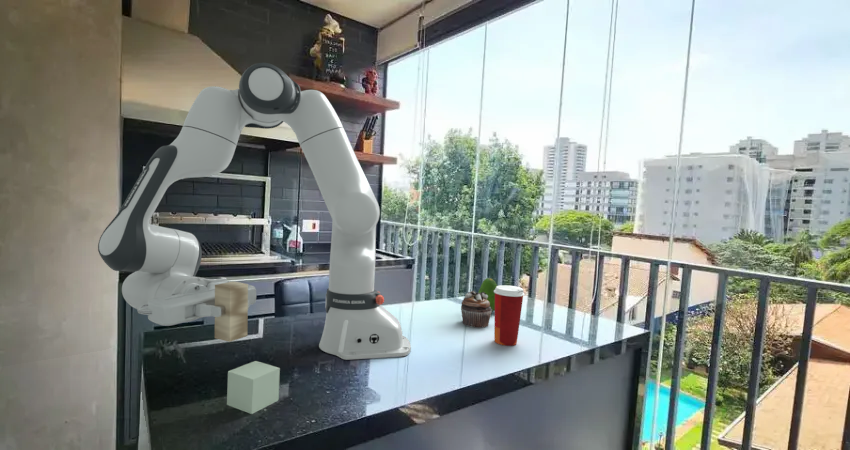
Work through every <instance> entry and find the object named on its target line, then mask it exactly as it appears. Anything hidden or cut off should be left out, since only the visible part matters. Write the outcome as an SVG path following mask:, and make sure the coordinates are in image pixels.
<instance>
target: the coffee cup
mask: <svg viewBox="0 0 850 450" xmlns="http://www.w3.org/2000/svg"><path fill="white" fill-rule="evenodd" d="M494 293H495V310H494V325H493V326H494V329H493V331H494V336H493V338H494V343H495V344H498V345H500V346H507V347H513V346H516V345H517V342H518V338H519V331H520V329H519V328H520V323H521V322H520V321H521V316H522V315H521V314H522V307H523V300H524V296H525V293H524V289H523V288H522V287H520V286H515V285H500V284H499V285H497V286H496V288H495V290H494Z"/></svg>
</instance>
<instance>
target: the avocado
mask: <svg viewBox="0 0 850 450" xmlns="http://www.w3.org/2000/svg"><path fill="white" fill-rule="evenodd" d="M496 286H498V284H497V282H496V281H495V280H494V279H493V278H491V277H487V278H485V279H484V280H483V281H482V282H481V285H480V287H479V289H478V292H477V293H481V292H485V293H486V295H488V298H487V300H488V301H489V302H490V305H489V306H490V307H491V309H492V312H495V293H494V290H495V288H496Z"/></svg>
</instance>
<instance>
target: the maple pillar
mask: <svg viewBox="0 0 850 450" xmlns="http://www.w3.org/2000/svg"><path fill="white" fill-rule="evenodd" d="M239 282H240V281H235V282H228V283H222V284H217V285H215V306H216V305H222V306H225V308H226V310H225V312H226V314H225V315H224V316H220V317H214V339H215V340H221V341H224V342H227V343H228V342H229V343H230V342H234V341H237V340H239V339H243V338H245V337H248V326H249V325H248V316H249V315H248V312H249V311H248V310H249V309H248V285H249V284H248V283H243V282H240V283H239Z"/></svg>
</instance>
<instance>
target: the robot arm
mask: <svg viewBox="0 0 850 450" xmlns="http://www.w3.org/2000/svg"><path fill="white" fill-rule="evenodd" d="M283 123H285V124H287V125H288V126H289V127H290V128H291V130H292V131H293V133H294V134H295V135H296V139H297V141H298V144H299V146H300V149H301V150H302V152H303V155H304V157H305V159H306V161H307V163H308V167H309V168H310V170H311V173H312V174H313V177H314V180H315V182H316V185H317V186H318V189H319V192H320V193H321V196H322V198H323V201H324V204H325V206H326V208H327V211H328V213H329V215H330V217H331V220H332V221H331V222H332V224H331V225H332V226H331V237H330V238H331V239H330V241H331V242H330V252H329V253H330V254H329V273H328V275H329V276H328V288H326V289H327V290H326V293H325V308H324V309H325V313H326V314H325V322H324V327H323V331H322V335H321V338H320V341H319V344H318V348H319V349H320V350H321V351H323V352H325V353H326V354H330V355H334V356H337V357H338V358H341V359H342V360H345V361H346V360H347V361H348V360H363V359H365V360H366V359H379V358H381V359H382V358H396V357H399V358H400V357H405V356H408V355H409V354H410V352H411V348H412V347H411V342H410V340H409V339H408V338H407V337H406V336H405V335H403V331H402V325H401V322H400V321H399V319H398V318H397V317H396V316H395V315H393V314H392V313H391V312H390V311H389V310H387V309H386V308H385V307H383V306H382V305H383V304H384V303H385V297H384V296H383V295H382V293H381V292H380V290H379V291H378V290H376V289H375V279H376V278H375V277H376V275H375V274H376V273H375V272H376V258H377V257H376V255H377V254H376V252H377V251H376V249H377V248H376V247H377V246H376V245H377V244H376V238H377V224H378V222H379V220H380V214H381V211H380V210H381V209H380V206H379V202H378V200H377V198H376V196H375V194H374V191H373V189H372V188H371V185H370V182H369V181H368V179H367V177H366V175H365V172H364V171H363V168H362V167H361V164H360V162H359V159H358V157H357V155H356V153H355V151H354V148H353V147H352V143H351V141H350V139H349V137H348V135H347V133H346V130H345V129H344V126H343V124H342V122H341V119H340V118H339V116H338V114H337V112H336V110H335V108H334V106H333V105H332V103H331V102H330V101H329V99H328V98H327V96H326V95H325V94H324V93H323V92H321V91H320V90H317V89H305V90H301V87H300V85H299V84H298V83H297V82H296V81H294V80H293V79H292V78H291V77H289V76H288V75H287V73H285V72H284V71H283V70H282V69H281V68H280V67H278V66H276V65H274V64H271V63H268V62H259V63H254V64H252V65H251V66H249V67H247V68H246V69H245V70H244V72H243V73H242V74H241V77H240V79H239V83H238V88H237V89H228V88H225V87H221V86H207V87H204V88H203V89H202V90H200V92H199V94H197V96H196V97H195V99H194V101H193V103H192V104H191V107H190V108H189V111H188V112H187V114H186V117H185V119H184V122H183V125H182V127H181V130H180V132H179V134H178V135H177V137H176V138H175V139H174V140H173V141H172V142H171V143H170V144H168V145H162V146H160V147H158V149H157V150H155V152H154V153H153V154H152V155H151V157H150V158H149V160H148V162H147V163H146V165H145V166H144V168H143V170H142V172H141V173H140V174H139V175H138V176H139V177H138V178H137V180H136V182H135V183H134V185H133V186H132V189H131V190H130V192H129V193H128V195H127V197H126V199H125V201H124V203H123V204H122V205H121V207H120V209H119V210H118V213H117V214H116V215H115V216H114V217H113V219H112V220H111V221H110V222H109V224H108V225H107V226H106V227H105V229H104V230H103V232H102V234H101V235H100V237H99V240H98V245H97V251H98V255H99V256H100V257H101V259H102V261H103V262H104V263H105V264H106V265H107V267H109V268H110V269H111V270H113V271H114V272H115V271H116V272H132V273H131V274H129V275H128V276H127V277H125V279H124V281H123V283H122V286H121V293H122V297H123V299H124V301H125V302H126V303H127V304H128V305H130V307H131V308H134V309H135V310H137V313H138V314H140V315H147V319H148V320H149V321H150V322H152V323H154V324H156V325H160V326H165V327H169V326H175V325H179V324H182V323H188V322H189V323H190V322H193V321H196V320H199V319H201V318H202V319H203V318H205V317H206V318H207V317H213V318H215V317H220V316H224V315H225V314H226V312H225V310H226V308H225V306H222V305H216V306H215V285H217V284H222V283H228V282H236V280H235V281H234V280H228V279H227V277H224V276H212V277H210V276H209V277H207V276H206V277H200V276H196V275H197V273H198V271H199V268H200V266H201V262H202V256H203V255H202V254H203V253H202V252H203V251H202V246H201V244H200V241H199V240H198V238H197V237H196V235H195V234H193V233H192V232H188V231H184V230H179V229H176V228H171V227H170V228H169V227H164V226H160V225H155V224H153V223H152V224H151V223H150V222H151V218H152V217H153V215H154V213H155V212H156V209H157V207H159V204H160V203H161V200H162V199H163V197H164V195H165V194H166V191H167V190H168V188H169V187H170V186H171V185H173V183H175V182H177V181H179V180H182V179H183V180H184V179H190V178H193V179H194V178H206V177H207V178H208V177H212V176H215V175H218V174H220V173H221V172H224V171H225V170H226V169H227V168H228V167H229V165H230V163H231V162H232V159H233V157H234V155H235V151H236V148H237V145H238V141H239V139H240V136H241V134H242V131H243V129H244V128H253V129H255V128H257V129H264V130H265V129H266V130H267V129H274V128H275V129H276V128H277V127H279V126H280V125H282V124H283ZM238 282H239V283H241V282H240V281H238ZM256 301H257V289H256V287H255V285H251V284H248V310H250V306H252V305H255V304H256Z"/></svg>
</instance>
